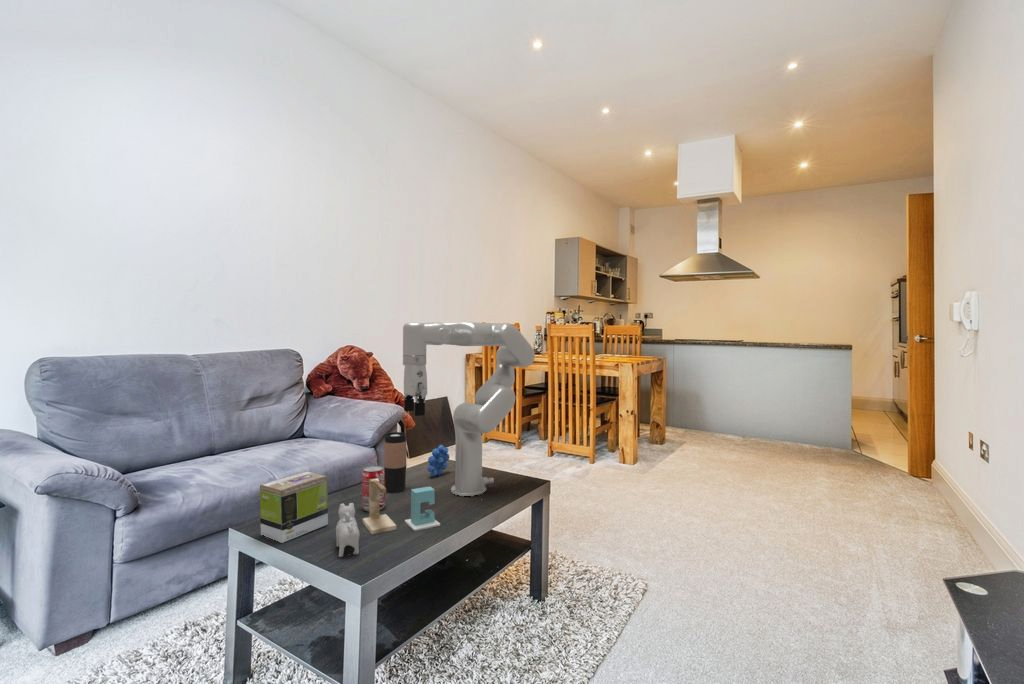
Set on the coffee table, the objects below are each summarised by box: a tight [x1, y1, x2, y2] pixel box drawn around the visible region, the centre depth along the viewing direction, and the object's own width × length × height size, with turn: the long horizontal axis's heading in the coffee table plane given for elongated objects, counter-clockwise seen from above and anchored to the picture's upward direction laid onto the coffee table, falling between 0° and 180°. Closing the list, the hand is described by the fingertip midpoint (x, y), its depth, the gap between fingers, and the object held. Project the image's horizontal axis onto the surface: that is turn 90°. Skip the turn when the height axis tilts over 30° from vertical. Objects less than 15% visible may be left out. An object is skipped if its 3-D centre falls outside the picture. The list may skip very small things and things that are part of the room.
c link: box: [410, 486, 436, 526], centre depth 143 cm, size 6×4×10 cm, turn 121°
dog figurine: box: [335, 502, 361, 558], centre depth 127 cm, size 5×13×11 cm, turn 26°
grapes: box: [427, 444, 450, 477], centre depth 192 cm, size 12×7×12 cm, turn 145°
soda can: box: [361, 465, 386, 513], centre depth 155 cm, size 7×7×13 cm
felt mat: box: [404, 518, 441, 532], centre depth 144 cm, size 8×8×1 cm
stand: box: [362, 478, 397, 535], centre depth 141 cm, size 7×11×12 cm, turn 32°
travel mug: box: [383, 431, 407, 494], centre depth 174 cm, size 8×8×20 cm
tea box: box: [259, 470, 329, 544], centre depth 137 cm, size 15×10×15 cm, turn 149°
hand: (414, 413), depth 158 cm, fingers open, 9 cm apart
